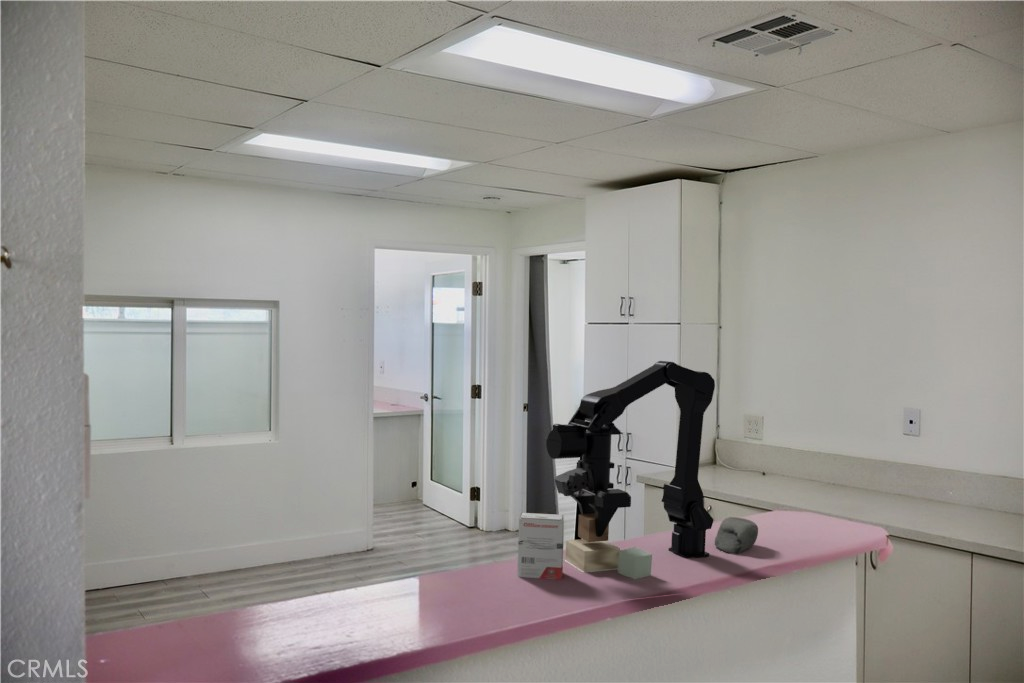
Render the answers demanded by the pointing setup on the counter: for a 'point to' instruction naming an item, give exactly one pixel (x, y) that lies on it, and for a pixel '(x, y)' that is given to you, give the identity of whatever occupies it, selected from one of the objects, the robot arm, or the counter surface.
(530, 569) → the ink box
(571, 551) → the birch base block
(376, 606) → the counter surface
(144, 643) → the counter surface
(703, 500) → the robot arm
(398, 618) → the counter surface
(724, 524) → the stone
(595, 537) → the walnut cube
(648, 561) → the sage block
